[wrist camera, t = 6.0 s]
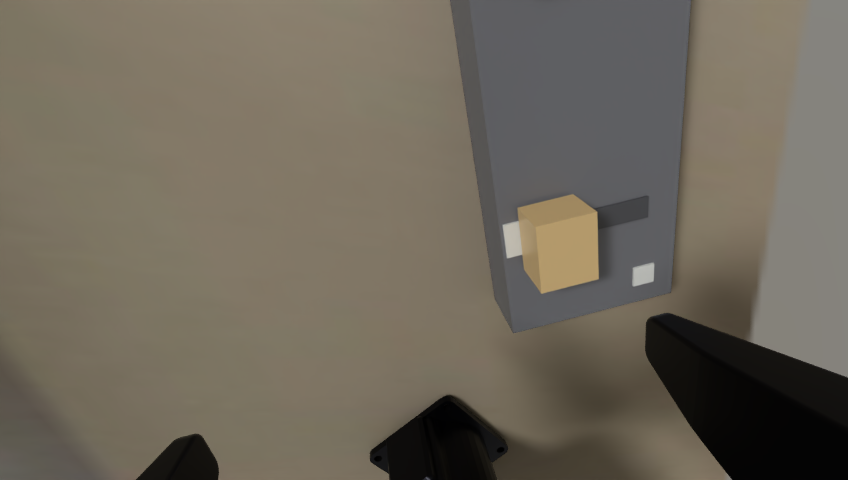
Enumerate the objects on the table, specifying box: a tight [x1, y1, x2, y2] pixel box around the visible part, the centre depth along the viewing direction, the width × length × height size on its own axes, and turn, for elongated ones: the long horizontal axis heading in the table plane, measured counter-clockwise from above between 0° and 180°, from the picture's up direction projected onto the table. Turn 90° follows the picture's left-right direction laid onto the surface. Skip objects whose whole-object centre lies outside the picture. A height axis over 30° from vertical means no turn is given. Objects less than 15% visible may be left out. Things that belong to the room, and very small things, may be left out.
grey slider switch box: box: [450, 0, 691, 333], centre depth 18 cm, size 22×8×3 cm, turn 11°
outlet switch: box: [517, 194, 599, 294], centre depth 18 cm, size 3×2×2 cm
